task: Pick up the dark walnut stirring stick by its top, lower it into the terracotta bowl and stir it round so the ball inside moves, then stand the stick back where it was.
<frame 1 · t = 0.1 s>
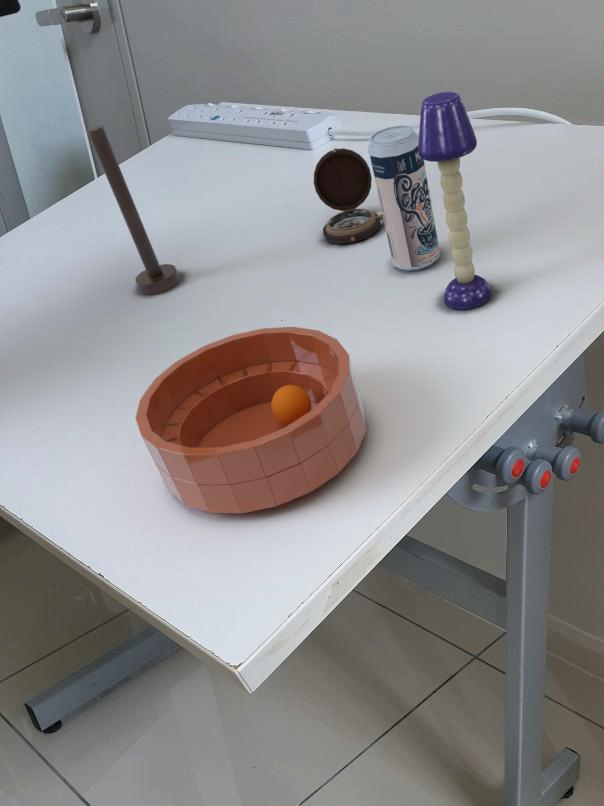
hand: (17, 2, 75), 27 cm above the table, tool pointing down, fingers open, 9 cm apart
bowl: (267, 451, 66), on the table
beer can: (417, 263, 84), on the table
compass: (361, 228, 93), on the table
ball: (291, 405, 66), point 2 cm above the table, touching bowl
toy lamp: (470, 298, 77), on the table
stick: (159, 284, 92), on the table
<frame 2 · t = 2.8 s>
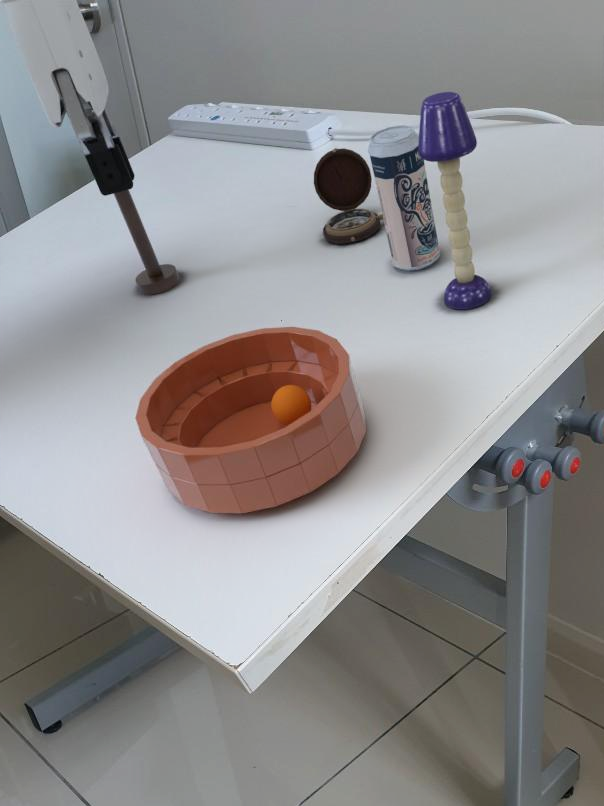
hand: (118, 185, 85), 11 cm above the table, tool pointing down, fingers closed on stick
stick: (159, 284, 92), on the table, touching gripper
everything else where it was.
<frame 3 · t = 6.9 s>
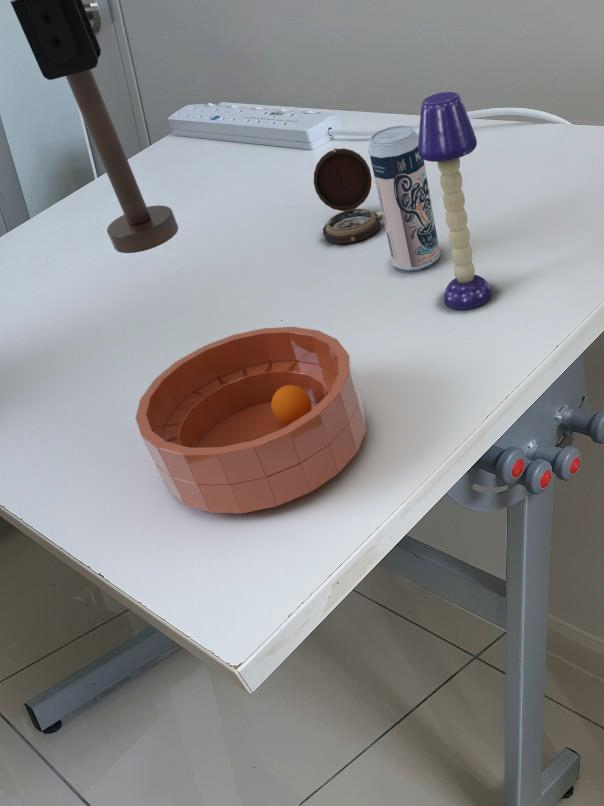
hand: (73, 65, 50), 27 cm above the table, tool pointing down, fingers closed on stick
stick: (146, 237, 58), point 16 cm above the table, touching gripper
everything else where it was.
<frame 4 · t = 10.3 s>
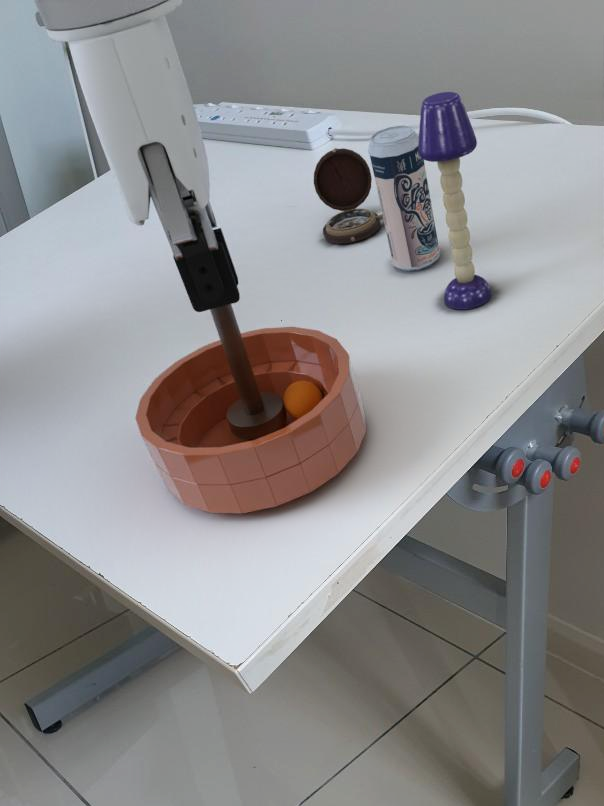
hand: (217, 296, 59), 12 cm above the table, tool pointing down, fingers closed on stick
ball: (303, 400, 66), point 2 cm above the table, tilted 34°, touching bowl, stick
stick: (258, 421, 66), point 2 cm above the table, touching ball, gripper
everything else where it was.
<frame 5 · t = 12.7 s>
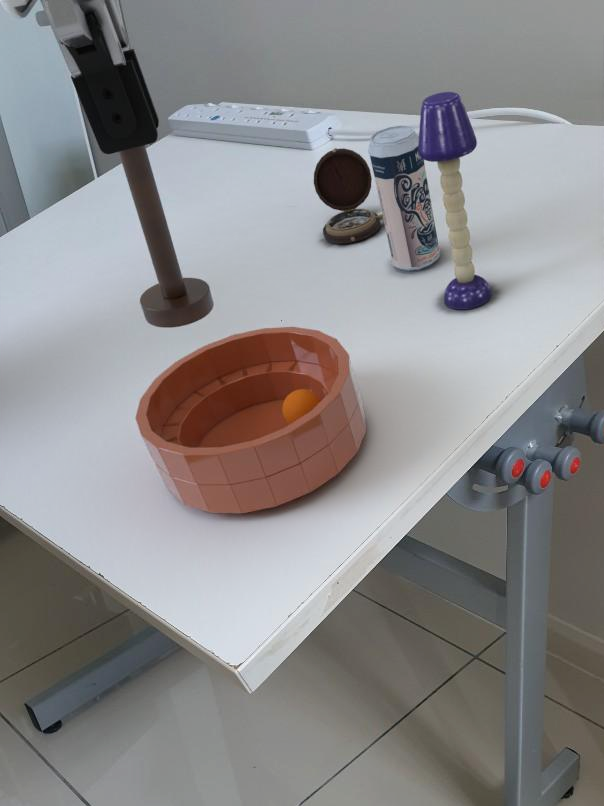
hand: (131, 138, 48), 24 cm above the table, tool pointing down, fingers closed on stick
ball: (302, 409, 65), point 2 cm above the table, tilted 16°, touching bowl
stick: (179, 310, 56), point 13 cm above the table, tilted 6°, touching gripper
everything else where it was.
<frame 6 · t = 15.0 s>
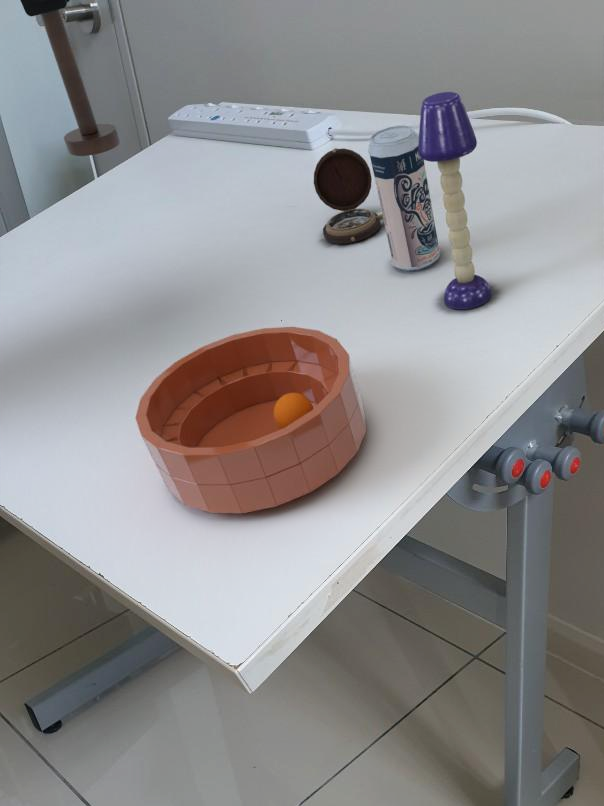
hand: (49, 6, 68), 27 cm above the table, tool pointing down, fingers closed on stick
ball: (294, 413, 65), point 2 cm above the table, tilted 25°, touching bowl
stick: (94, 147, 75), point 17 cm above the table, tilted 5°, touching gripper
everything else where it was.
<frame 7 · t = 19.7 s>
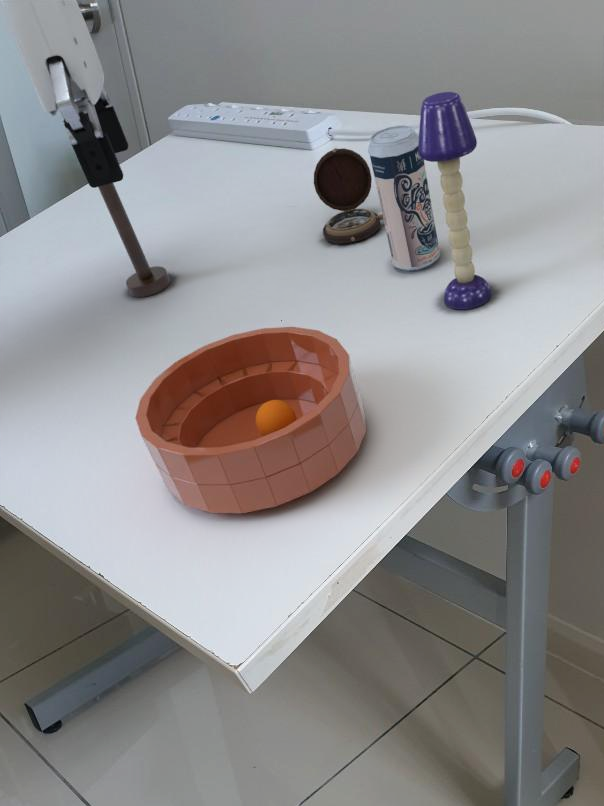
hand: (110, 166, 84), 12 cm above the table, tool pointing down, fingers open, 8 cm apart
ball: (276, 420, 65), point 2 cm above the table, tilted 76°, touching bowl
stick: (150, 286, 92), on the table
everything else where it was.
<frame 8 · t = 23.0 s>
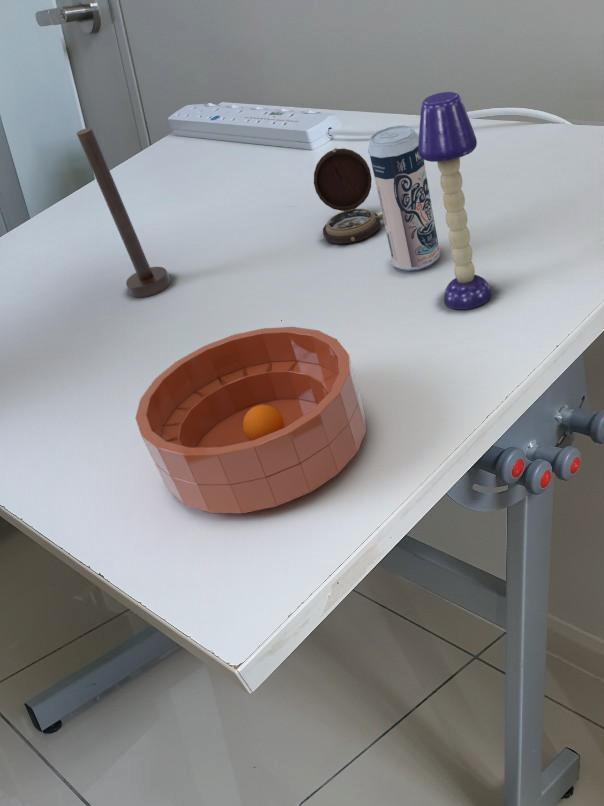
ball: (263, 425, 65), point 2 cm above the table, tilted 113°, touching bowl
everything else where it was.
at the end: ball moved 2.9 cm from its start; ball inside the target area in the bowl (0.4 cm from its centre), point 2.3 cm above the bowl's base; stick tilted 0° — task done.
